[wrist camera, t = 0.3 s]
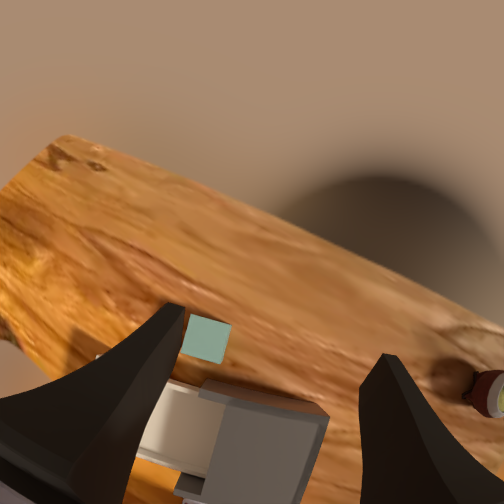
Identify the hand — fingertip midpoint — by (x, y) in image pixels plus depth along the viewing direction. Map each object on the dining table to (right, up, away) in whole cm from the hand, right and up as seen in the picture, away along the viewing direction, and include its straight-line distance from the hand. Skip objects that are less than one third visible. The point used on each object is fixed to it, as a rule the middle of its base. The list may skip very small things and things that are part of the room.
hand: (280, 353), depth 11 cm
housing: (-1, -20, +25) cm, 32 cm away
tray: (-12, -17, +25) cm, 33 cm away
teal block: (-6, -7, +28) cm, 29 cm away
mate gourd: (+33, -17, +27) cm, 46 cm away
